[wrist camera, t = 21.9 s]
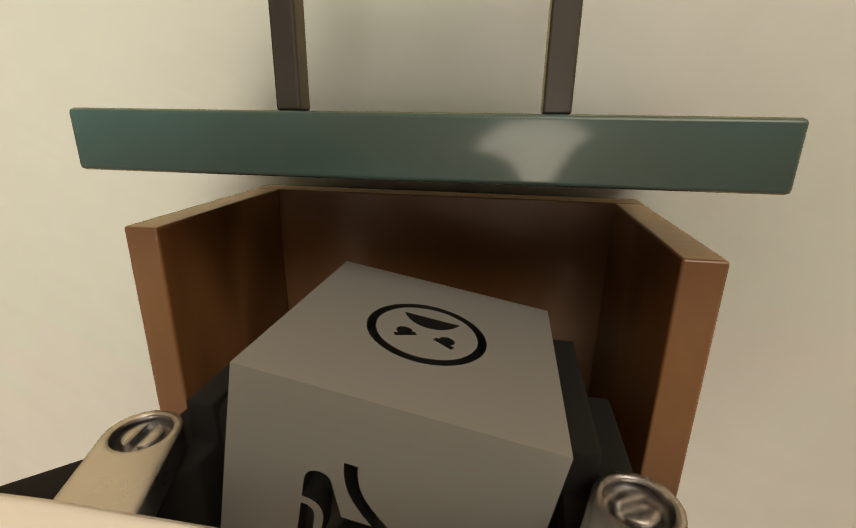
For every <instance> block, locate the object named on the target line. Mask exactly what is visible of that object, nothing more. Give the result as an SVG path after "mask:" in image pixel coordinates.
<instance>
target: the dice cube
mask: <svg viewBox="0 0 856 528" xmlns="http://www.w3.org/2000/svg"><path fill="white" fill-rule="evenodd" d="M572 461H573V453H572V448H571V442H570V436H569V431H568V425H567V419H566V413H565V408H564V402H563V396H562V391H561V385H560V379H559V373H558V368H557V362H556V356H555V351H554V345H553V339H552V333H551V328H550V322H549V316H548V311H546V310H542V309H538V308H534V307H530V306H526V305H522V304H518V303H514V302H510V301H506V300H502V299H498V298H494V297H490V296H486V295H482V294H477V293H473V292H469V291H465V290H461V289H457V288H453V287H449V286H445V285H441V284H437V283H433V282H429V281H425V280H421V279H417V278H413V277H409V276H405V275H401V274H397V273H393V272H389V271H385V270H381V269H377V268H373V267H369V266H365V265H361V264H357V263H353V262H349V261H346V262H345V263H344V264H343V265H342V266H341V267H339V268H338V269H337V270H336V271H335V272H334V273H332V274H331V275H330V276H329V277H328V278H327V279H326V280H324V281H323V282H322V283H321V284H320V285H319V286H317V287H316V288H315V289H314V290H313V291H312V292H310V293H309V294H308V295H307V296H306V297H305V298H304V299H302V300H301V301H300V302H299V303H298V304H297V305H295V306H294V307H293V308H292V309H291V310H290V311H288V312H287V313H286V314H285V315H284V316H283V317H282V318H280V319H279V320H278V321H277V322H276V323H275V324H273V325H272V326H271V327H270V328H269V329H268V330H266V331H265V332H264V333H263V334H262V335H261V336H260V337H258V338H257V339H256V340H255V341H254V342H253V343H251V344H250V345H249V346H248V347H247V348H246V349H244V350H243V351H242V352H241V353H240V354H239V355H237V356H236V357H235V358H234V359H233V360H232V361H231V362H230V369H229V387H228V405H227V423H226V441H225V459H224V477H223V495H222V513H221V528H547V527H548V525H549V522H550V519H551V517H552V514H553V511H554V509H555V506H556V503H557V501H558V498H559V495H560V493H561V490H562V488H563V485H564V482H565V480H566V477H567V474H568V472H569V469H570V466H571V464H572Z"/></svg>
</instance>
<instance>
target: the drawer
mask: <svg viewBox="0 0 856 528" xmlns="http://www.w3.org/2000/svg"><path fill="white" fill-rule="evenodd" d="M268 3H269V15H270V27H271V39H272V51H273V63H274V75H275V87H276V98H277V108H278V110H280V111H278V110H206V109H133V108H72V109H70V117H71V122H72V126H73V131H74V135H75V140H76V145H77V149H78V154H79V158H80V163H81V166H82V167H83V168H86V169H100V170H127V171H154V172H181V173H207V174H234V175H261V176H288V177H315V178H342V179H368V180H395V181H422V182H449V183H476V184H502V185H529V186H556V187H583V188H610V189H637V190H663V191H690V192H717V193H744V194H771V195H785V194H789V193H790V192H791V190H792V186H793V182H794V178H795V175H796V171H797V167H798V163H799V159H800V155H801V151H802V148H803V144H804V140H805V136H806V132H807V128H808V125H809V122H808V120H807V119H805V118H786V117H713V116H641V115H569V114H571V111H572V102H573V92H574V83H575V73H576V63H577V54H578V44H579V35H580V25H581V16H582V6H583V0H550V8H549V20H548V32H547V44H546V55H545V67H544V79H543V90H542V102H541V114H496V113H423V112H351V111H308V110H309V109H310V103H309V87H308V71H307V55H306V39H305V23H304V7H303V0H268ZM125 233H126V238H127V243H128V248H129V253H130V258H131V263H132V268H133V274H134V279H135V284H136V289H137V294H138V299H139V304H140V309H141V314H142V319H143V324H144V329H145V334H146V340H147V345H148V350H149V355H150V360H151V365H152V370H153V375H154V380H155V385H156V390H157V395H158V400H159V405H160V410H168V411H172V412H176V413H177V414H178V415H180V414H181V413H182V412H183V411H185V410H186V409H187V403H186V400H188V399H189V398H190V397H191V396H192V395H193V394H194V393H196V392H197V391H198V390H199V389H200V388H201V387H203V386H204V385H205V384H206V383H207V382H208V381H210V380H211V379H212V378H213V377H214V376H215V375H216V374H218V373H219V372H220V371H221V370H222V369H223V368H225V367H226V366H227V365H228V364H229V363H230V362H231V361H232V360H233V359H234V358H235V357H236V356H237V355H239V354H240V353H241V352H242V351H243V350H244V349H246V348H247V347H248V346H249V345H250V344H251V343H253V342H254V341H255V340H256V339H257V338H258V337H260V336H261V335H262V334H263V333H264V332H265V331H266V330H268V329H269V328H270V327H271V326H272V325H273V324H275V323H276V322H277V321H278V320H279V319H280V318H282V317H283V316H284V315H285V314H286V313H287V312H288V311H290V310H291V309H292V308H293V307H294V306H295V305H297V304H298V303H299V302H300V301H301V300H302V299H304V298H305V297H306V296H307V295H308V294H309V293H310V292H312V291H313V290H314V289H315V288H316V287H317V286H319V285H320V284H321V283H322V282H323V281H324V280H326V279H327V278H328V277H329V276H330V275H331V274H332V273H334V272H335V271H336V270H337V269H338V268H339V267H341V266H342V265H343V264H344V263H345V262H346V261H349V262H353V263H357V264H361V265H365V266H369V267H373V268H377V269H381V270H385V271H389V272H393V273H397V274H401V275H405V276H409V277H413V278H417V279H421V280H425V281H429V282H433V283H437V284H441V285H445V286H449V287H453V288H457V289H461V290H465V291H469V292H473V293H477V294H482V295H486V296H490V297H494V298H498V299H502V300H506V301H510V302H514V303H518V304H522V305H526V306H530V307H534V308H538V309H542V310H546V311H548V316H549V322H550V328H551V333H552V339H553V340H564V341H573V344H574V348H575V351H576V355H577V359H578V363H579V367H580V371H581V374H582V378H583V382H584V386H585V390H586V394H587V397H594V398H603V399H608V400H609V402H610V405H611V408H612V411H613V414H614V417H615V420H616V423H617V426H618V429H619V432H620V435H621V438H622V441H623V444H624V447H625V450H626V453H627V456H628V459H629V462H630V465H631V468H632V471H633V473H635V474H639V475H643V476H645V477H647V478H650V479H652V480H654V481H656V482H658V483H659V484H661V485H662V486H664V487H665V488H667V489H668V490H669V491H670V492H671V493H672V494H673V495H674V496H675V497H676V495H677V491H678V487H679V482H680V478H681V473H682V469H683V465H684V460H685V456H686V452H687V447H688V443H689V439H690V434H691V430H692V425H693V421H694V417H695V412H696V408H697V404H698V399H699V395H700V391H701V386H702V382H703V377H704V373H705V369H706V364H707V360H708V356H709V351H710V347H711V343H712V338H713V334H714V329H715V325H716V321H717V316H718V312H719V308H720V303H721V299H722V295H723V290H724V286H725V281H726V277H727V273H728V268H729V262H728V261H727V260H725V259H724V258H722V257H721V256H719V255H718V254H717V253H715V252H714V251H712V250H711V249H709V248H708V247H706V246H705V245H703V244H702V243H700V242H699V241H697V240H696V239H694V238H693V237H691V236H690V235H688V234H687V233H685V232H684V231H682V230H681V229H679V228H678V227H676V226H675V225H673V224H672V223H670V222H669V221H667V220H666V219H664V218H663V217H661V216H660V215H658V214H657V213H655V212H654V211H652V210H651V209H649V208H648V207H646V206H645V205H643V204H642V203H640V202H639V201H637V200H633V199H608V198H584V197H559V196H534V195H509V194H485V193H460V192H435V191H411V190H386V189H361V188H337V187H312V186H287V185H266V186H262V187H259V188H256V189H252V190H249V191H246V192H242V193H239V194H235V195H232V196H228V197H225V198H221V199H218V200H215V201H211V202H208V203H204V204H201V205H197V206H194V207H190V208H187V209H184V210H180V211H177V212H173V213H170V214H166V215H163V216H160V217H156V218H153V219H149V220H146V221H142V222H139V223H135V224H132V225H129V226H126V227H125Z"/></svg>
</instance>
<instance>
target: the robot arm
mask: <svg viewBox="0 0 856 528" xmlns="http://www.w3.org/2000/svg"><path fill="white" fill-rule="evenodd" d="M553 345H554V351H555V356H556V362H557V368H558V373H559V379H560V385H561V391H562V396H563V402H564V408H565V413H566V419H567V425H568V431H569V436H570V442H571V448H572V453H573V461H572V464H571V466H570V469H569V472H568V474H567V477H566V480H565V482H564V485H563V488H562V490H561V493H560V495H559V498H558V501H557V503H556V506H555V509H554V511H553V514H552V517H551V519H550V522H549V525H548V527H547V528H688V521H687V516H686V511H685V509H684V508H683V506H682V504H681V503H680V501H679V500H678V499H677V498H676V497H675V496H674V495H673V494H672V493H671V492H670V491H669V490H668V489H667V488H665V487H664V486H662V485H661V484H659V483H658V482H656V481H654V480H652V479H650V478H647V477H645V476H643V475H639V474H635V473H633V471H632V468H631V465H630V462H629V459H628V456H627V453H626V450H625V447H624V444H623V441H622V438H621V435H620V432H619V429H618V426H617V423H616V420H615V417H614V414H613V411H612V408H611V405H610V402H609V400H608V399H603V398H594V397H587V394H586V390H585V386H584V382H583V378H582V374H581V371H580V367H579V363H578V359H577V355H576V351H575V348H574V344H573V341H564V340H553ZM229 369H230V363H229V364H228V365H227V366H226V367H225V368H223V369H222V370H221V371H220V372H219V373H218V374H216V375H215V376H214V377H213V378H212V379H211V380H210V381H208V382H207V383H206V384H205V385H204V386H203V387H201V388H200V389H199V390H198V391H197V392H196V393H194V394H193V395H192V396H191V397H190V398H189V399H188V400H186V403H187V409H186V410H185V411H183V412H182V413H181V414H180V415H178V414H177V413H176V412H172V411H168V410H154V411H148V412H143V413H140V414H136V415H133V416H130V417H128V418H126V419H124V420H122V421H120V422H118V423H117V424H115V425H114V426H112V427H111V428H109V429H108V430H107V431H106V432H105V433H104V434H103V435H102V436H101V437H100V439H99V440H98V441H97V443H96V444H95V445H94V447H93V448H92V449H91V451H90V452H89V453H88V454H87V456H86V457H85V458H84V459H83V460H80V461H77V462H74V463H71V464H68V465H65V466H62V467H59V468H56V469H52V470H49V471H46V472H43V473H40V474H37V475H34V476H31V477H28V478H25V479H21V480H18V481H15V482H12V483H9V484H6V485H3V486H0V528H221V513H222V495H223V477H224V459H225V441H226V423H227V405H228V387H229Z"/></svg>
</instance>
